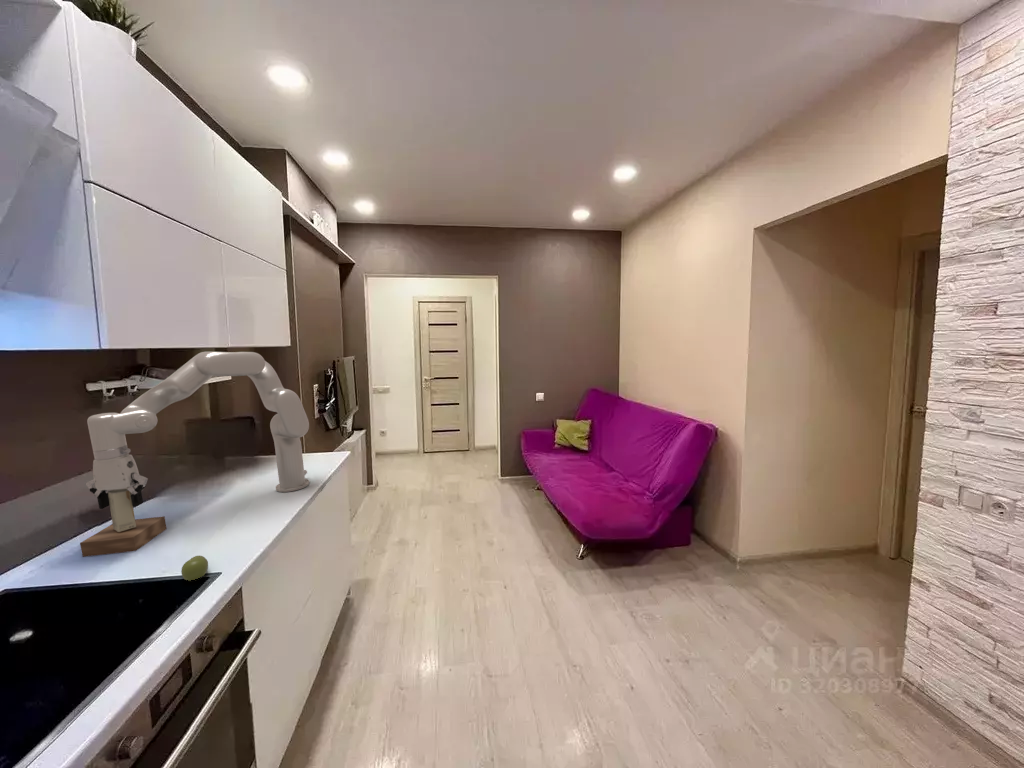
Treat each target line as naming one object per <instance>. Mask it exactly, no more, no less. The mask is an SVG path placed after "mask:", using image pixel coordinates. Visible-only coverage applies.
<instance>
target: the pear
mask: <svg viewBox="0 0 1024 768" xmlns="http://www.w3.org/2000/svg"><path fill="white" fill-rule="evenodd" d="M208 568H209V561H208V559H207V558H206V557H205V556H202V555H195V556H193V557H191V558H190V559H188V560H186V561H185V563H183V565H182V567H181V572H180V573H181V576H182V578H183V579H184V581H185V580H186V581H187V580H188V582H192V581H191V580H195V579H198V578H200V577H201V578H203V577H204V576H205V574H206V573H207V571H208ZM202 576H203V577H202ZM201 578H200V579H201ZM198 580H199V579H198ZM195 581H196V580H195Z"/></svg>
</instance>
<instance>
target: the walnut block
mask: <svg viewBox="0 0 1024 768" xmlns="http://www.w3.org/2000/svg"><path fill="white" fill-rule="evenodd" d="M135 523H136V527H135V528H131V529H128V530H124V531H121V532H117V531H116V530H114V529H113V523H112V524H110V525H108V526H106V527H105V528H103V529H101V530H100V531H98V532H97V533H95V534H92V535H91V536H89V537H88V538H86V539H84V540H83V541H81V542H80V543H79V545H80V551H81V555H82V557H93V556H94V557H95V556H102V555H103V556H105V555H111V554H121V553H122V554H123V553H130V552H137V551H138V550H139V549H141V548H143V547H144V546H145V545H146V544H148V543H149V542H150V541H152V540H153V539H155V538H156V537H157V536H159V535H161V534H162V533H163V532H165V531H166V530H167V529H168V528H167V522H166V517H165V516H157V517H145V518H135Z"/></svg>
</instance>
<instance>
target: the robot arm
mask: <svg viewBox="0 0 1024 768" xmlns="http://www.w3.org/2000/svg"><path fill="white" fill-rule="evenodd" d="M241 376H244V377H245V376H247V377H248V378H250V380H251V381H252V382H253V384H254V385H255V388H256V389H257V392H258V394H259V397H260V399H261V402H262V404H263V406H264V408H265V409H266V410H268V411H270V412H275V414H274V416H273V417H272V418H271V420H270V423H269V427H270V432H271V433H270V434H271V435H272V439H273V442H274V443H273V444H274V449H275V451H274V452H275V460H276V467H277V475H278V476H277V477H278V484H277V485H275V491H277V492H278V493H289V492H296V491H300V490H301V489H304V488H306V487H308V486H309V485H310V479H308V478H306V475H307V474H308V471H307V469H305V468H304V457H303V450H302V448H303V447H302V442H301V438H303V437H304V436H305V435H306V434H307V433H308V431H309V429H310V422H309V421H310V420H309V418H308V415H307V413H306V411H305V409H304V405H303V403H302V400H301V399H300V397H299V395H298V394H297V393H296V392H295V391H293V390H291V389H288V388H285V387H284V386H283V384H282V381H281V380H280V377H279V376H278V373H277V372H276V370H275V368H273V366H272V365H271V364H270V363H269V362H267V361H266V360H265V358H264V357H263V356H262V355H261V354H260V353H258V352H254V351H235V352H234V351H233V352H232V351H231V352H229V351H228V352H227V351H201V352H199V353H197V354H195V355H194V356H193V357H192V358H190V359H189V360H188V361H187V362H186V363H184V364H183V365H181V366H180V367H179V368H177V370H175V371H174V372H173V373H172V374H170V375H169V376H168V377H166V378H165V379H163V380H162V381H160V382H159V383H158V384H156V385H154V386H153V387H152V388H149V390H147V391H145V392H144V393H143V394H141V395H140V396H139V397H137V398H136V399H135V400H133V401H132V402H131V403H129V404H128V405H127V406H126V407H124V409H122V410H121V411H120V413H118V412H102V413H98V414H92V415H90V416H88V418H87V427H88V433H89V438H90V442H91V448H92V453H93V457H94V459H93V462H92V476H93V478H92V479H90V480H89V481H86V483H85V486H86V487H87V488H88V489H89V492H91V494H93V496H94V498H97V504H98V509H99V510H103V509H105V508H107V507H110V504H109V497H108V491H112V490H122V489H128V490H129V491H130V492H131V501H132V506H133V508H136V507H138V506H140V505H141V504H143V503H144V501H143V500H144V499H143V493H142V491H144V488H146V486H147V483H148V480H149V478H148V477H146V476H143V475H141V474H140V473H139V472H140V471H139V469H138V466H137V463H136V460H135V458H134V457H133V455H132V454H130V453H131V452H132V451H131V450H132V449H131V448H128V444H127V439H126V437H127V436H126V435H129V434H131V435H132V434H142V433H147V432H149V431H152V430H153V429H154V428H155V427H157V424H158V417H157V414H158V413H159V412H161V411H162V410H164V409H165V408H167V407H168V406H170V405H171V404H175V403H177V402H180V401H183V400H185V399H187V398H189V397H190V396H192V395H193V394H194V393H195V392H196V391H197V390H199V388H201V387H202V386H203V385H204V384H206V382H208V381H209V380H210V379H211V378H212V377H241Z"/></svg>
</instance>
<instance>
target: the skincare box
mask: <svg viewBox="0 0 1024 768" xmlns="http://www.w3.org/2000/svg"><path fill="white" fill-rule="evenodd" d="M107 493H108V497H109V504H110V505H109V509H110V514H111V523H112V524H113V529H114V530H116V531H117V532H121V531H124V530H128V529H131V528H135V527H136V523H135V519H136V517H135V511H134V507H133V506H132V501H131V495H132V493H131V492H130V491H129V490H128V489H122V490H107Z"/></svg>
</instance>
